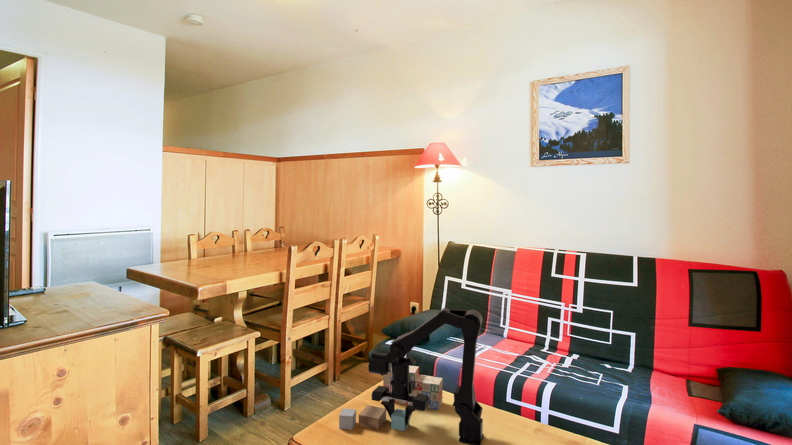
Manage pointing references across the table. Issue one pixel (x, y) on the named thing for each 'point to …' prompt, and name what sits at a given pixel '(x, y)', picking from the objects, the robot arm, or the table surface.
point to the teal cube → (398, 420)
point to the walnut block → (372, 417)
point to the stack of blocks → (421, 386)
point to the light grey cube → (347, 419)
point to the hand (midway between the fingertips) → (400, 423)
